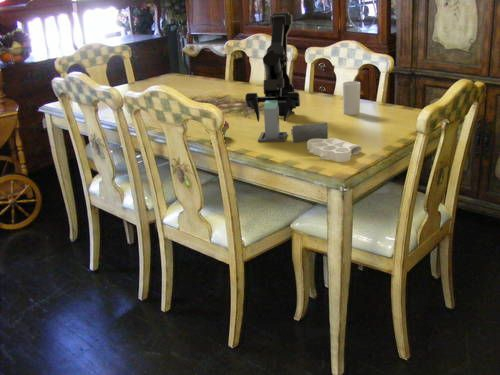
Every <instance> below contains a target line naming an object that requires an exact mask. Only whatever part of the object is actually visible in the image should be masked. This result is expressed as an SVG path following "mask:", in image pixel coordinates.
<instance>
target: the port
mask: <svg viewBox="0 0 500 375" xmlns="http://www.w3.org/2000/svg"><path fill="white" fill-rule="evenodd" d="M328 125H329V124H328V122H327V121H326V122H318V123H317V122H316V123H308V124H300V125H292V128H291V129H290V132H291V133H290V134H291V136H292V143H293V144H295V143H298V144H299V143H305V142H306V143H307V141H308V140H310V139H329V137H328V136H329V135H328V134H329V131H328V129H329V128H328Z"/></svg>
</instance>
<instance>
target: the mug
mask: <svg viewBox="0 0 500 375" xmlns="http://www.w3.org/2000/svg"><path fill="white" fill-rule="evenodd" d="M342 106H343V107H342V110H343V111H342V112H343V115H345V116H357V115H359V114H360V106H361V82H360V81H357V80H355V81H354V80H352V81H351V80H349V81H344V82H342Z"/></svg>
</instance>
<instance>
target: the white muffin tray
mask: <svg viewBox="0 0 500 375" xmlns="http://www.w3.org/2000/svg"><path fill="white" fill-rule="evenodd" d="M306 150H307V151H308V153H309V154H312V155H314V156H318V157H319V158H320V159H321V160H327V161H328V160H329V161H333V162H336V163H346V162H349V161H350V160H351V156H353V155H358V154H360V153H361V151H362V150H363V148H362V146H360V145H358V144H354V143H351V142H349V141H347V140H343V139H340V138H338V137H330V138H329V137H328V139H310V140H308V141H306Z"/></svg>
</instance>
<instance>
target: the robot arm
mask: <svg viewBox="0 0 500 375" xmlns="http://www.w3.org/2000/svg"><path fill="white" fill-rule="evenodd" d="M292 25H293V14H290V12H289V11H282V12H281V11H280V12H273V14H272V15H269V26H270V27H271V28H272V29H271V40H270V45H269V46H268V47H267V49H266V54H264V56H262V63H263V68H264V71H265V73H266V76H265V77H266V78H265V79H264V80H263V95H264V96H262V95H261V96H259V95H258V92H247V93H246V94H245V100H244V101H245V102H246V103H245V104H246V106H247V108H250V110H253V111H254V114H255V116H256V120H257V122H260V107H259V104H260V103H265V101H266V100H278V106H279V116H282V117H283V121H284V122H286V121H287V119H288V117H289V115H292V114H294V113H295V111H294V109H297V107H298V108H299V107H300V106H301V98H300V93H299V92H298V91H295V87H294V86H293V83H292V80H291V77H290V76H289V74H288V61H289V58H288V43H287V42H288V35H289V33H290V31H291V29H292Z"/></svg>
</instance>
